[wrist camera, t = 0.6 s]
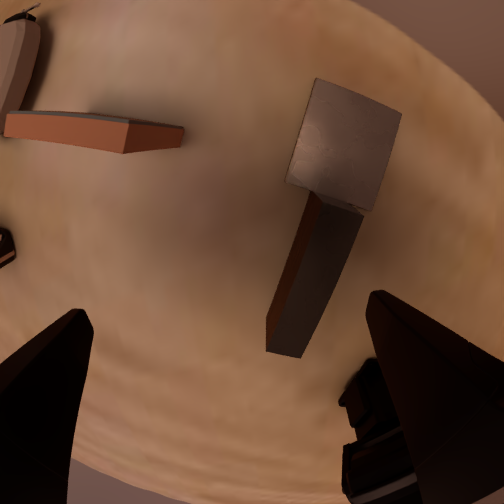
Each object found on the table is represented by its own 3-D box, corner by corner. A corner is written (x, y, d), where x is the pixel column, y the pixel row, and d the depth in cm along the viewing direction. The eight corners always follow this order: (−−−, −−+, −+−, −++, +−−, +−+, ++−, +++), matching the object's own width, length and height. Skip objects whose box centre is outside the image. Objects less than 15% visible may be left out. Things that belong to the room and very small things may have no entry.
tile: (185, 127, 17) (129, 119, 9) (180, 147, 17) (122, 153, 10) (86, 112, 16) (7, 111, 9) (82, 130, 17) (3, 136, 9)
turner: (398, 114, 16) (427, 110, 12) (317, 328, 22) (324, 363, 18) (314, 79, 15) (328, 63, 11) (243, 311, 21) (238, 345, 18)
